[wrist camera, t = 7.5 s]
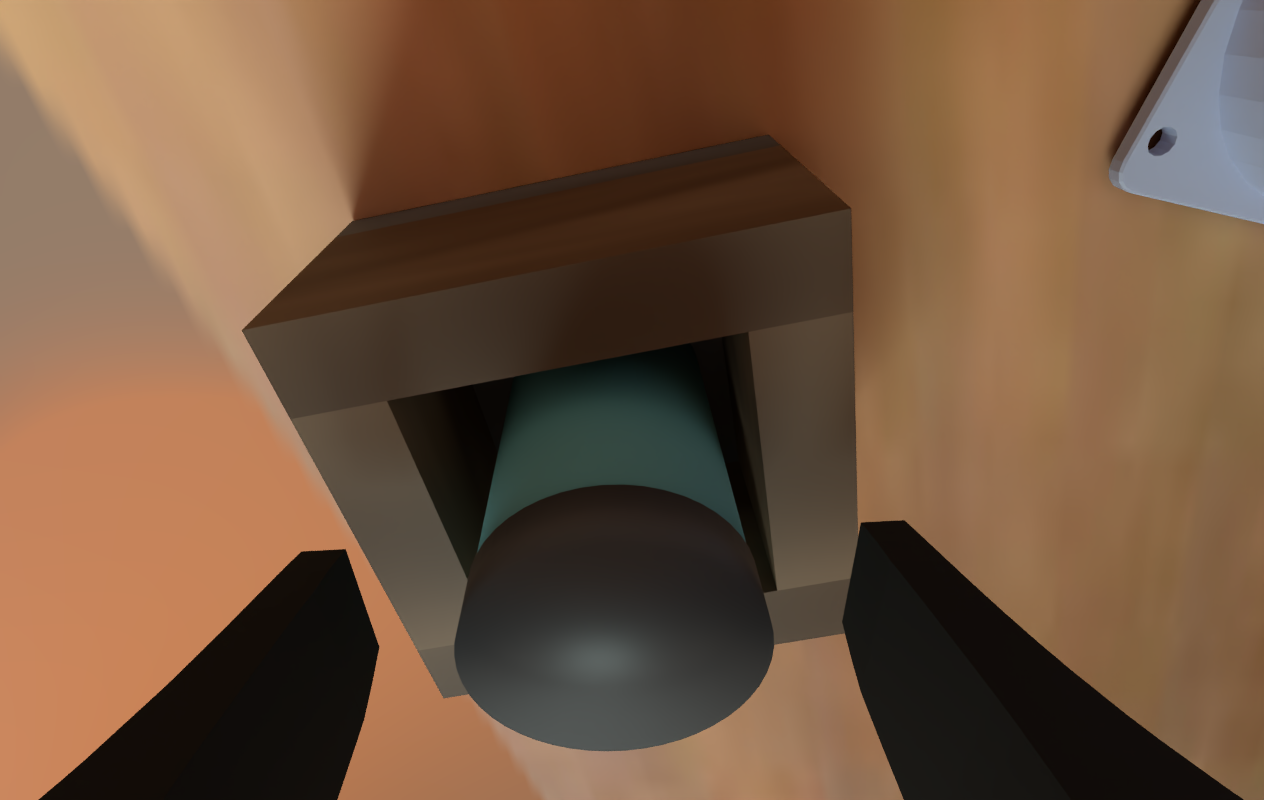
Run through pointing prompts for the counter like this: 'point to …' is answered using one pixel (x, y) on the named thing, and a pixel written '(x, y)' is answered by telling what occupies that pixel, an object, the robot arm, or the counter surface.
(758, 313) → the socket
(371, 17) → the counter surface
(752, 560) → the peg
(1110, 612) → the counter surface
